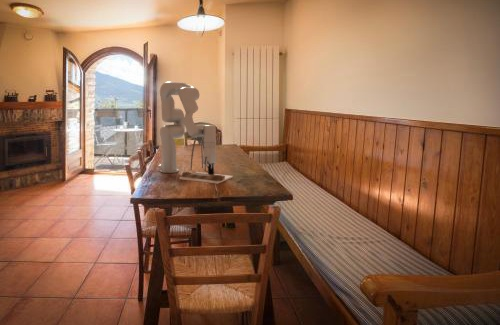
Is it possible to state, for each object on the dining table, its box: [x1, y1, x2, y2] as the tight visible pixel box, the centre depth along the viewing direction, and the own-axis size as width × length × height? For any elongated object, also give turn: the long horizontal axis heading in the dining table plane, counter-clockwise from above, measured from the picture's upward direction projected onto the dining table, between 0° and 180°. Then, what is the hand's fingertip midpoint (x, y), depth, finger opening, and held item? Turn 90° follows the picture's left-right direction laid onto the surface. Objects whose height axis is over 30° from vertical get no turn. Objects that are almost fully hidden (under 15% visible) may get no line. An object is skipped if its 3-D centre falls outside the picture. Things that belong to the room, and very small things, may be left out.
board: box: [178, 171, 234, 184], centre depth 231 cm, size 27×20×1 cm
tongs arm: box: [193, 171, 225, 180], centre depth 228 cm, size 22×3×2 cm, turn 65°
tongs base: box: [181, 171, 222, 181], centre depth 226 cm, size 26×3×3 cm, turn 66°
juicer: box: [190, 136, 207, 172], centre depth 258 cm, size 10×11×30 cm
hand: (211, 174), depth 230 cm, fingers closed
